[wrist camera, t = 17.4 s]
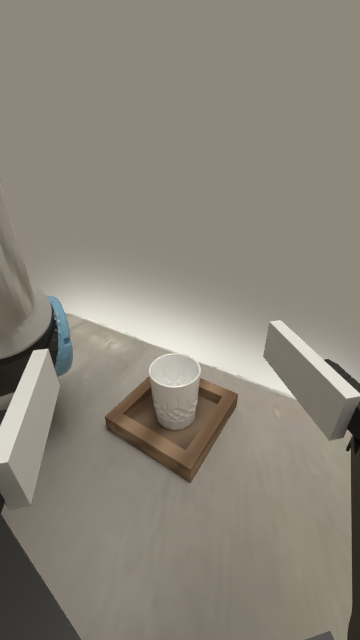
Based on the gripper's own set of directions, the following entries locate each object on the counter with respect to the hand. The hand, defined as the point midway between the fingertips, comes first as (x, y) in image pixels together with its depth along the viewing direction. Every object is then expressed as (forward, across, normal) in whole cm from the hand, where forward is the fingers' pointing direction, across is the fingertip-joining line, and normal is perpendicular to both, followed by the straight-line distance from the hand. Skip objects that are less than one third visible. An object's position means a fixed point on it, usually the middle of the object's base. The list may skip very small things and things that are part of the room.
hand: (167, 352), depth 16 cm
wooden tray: (+19, +4, -28) cm, 34 cm away
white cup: (+19, +4, -27) cm, 33 cm away
